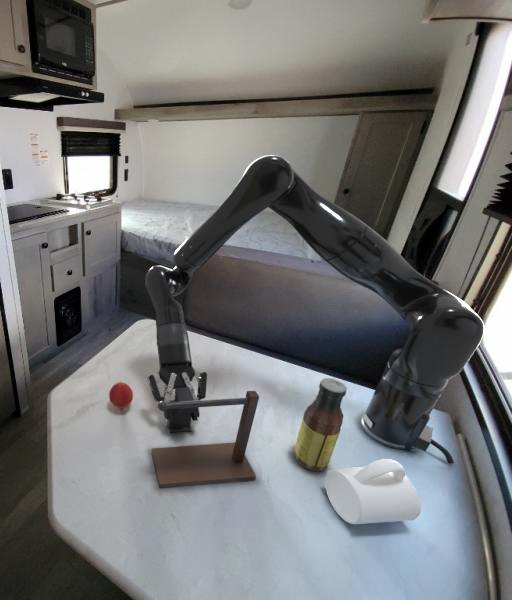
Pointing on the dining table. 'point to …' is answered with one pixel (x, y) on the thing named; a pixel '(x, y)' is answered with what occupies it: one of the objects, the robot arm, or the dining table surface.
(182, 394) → the grey hanging weight
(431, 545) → the dining table surface
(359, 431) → the dining table surface
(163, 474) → the rack
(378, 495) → the mug
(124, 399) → the red rounded oval body
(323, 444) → the sauce bottle
